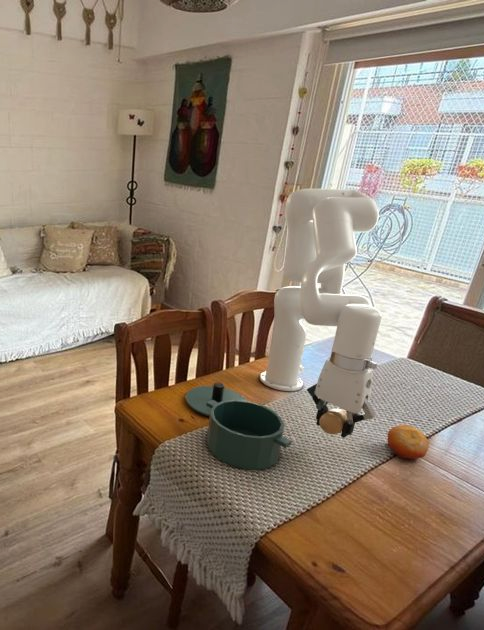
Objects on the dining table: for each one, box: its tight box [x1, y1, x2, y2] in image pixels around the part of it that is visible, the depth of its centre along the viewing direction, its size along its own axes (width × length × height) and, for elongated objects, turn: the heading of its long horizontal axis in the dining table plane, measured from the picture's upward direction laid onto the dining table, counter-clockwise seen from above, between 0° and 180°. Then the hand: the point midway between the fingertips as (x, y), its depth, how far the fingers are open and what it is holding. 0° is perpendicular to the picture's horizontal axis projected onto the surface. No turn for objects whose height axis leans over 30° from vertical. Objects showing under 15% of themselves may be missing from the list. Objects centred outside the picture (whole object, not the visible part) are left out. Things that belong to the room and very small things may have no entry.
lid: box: [185, 382, 248, 417], centre depth 126 cm, size 18×18×6 cm
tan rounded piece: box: [319, 407, 347, 436], centre depth 102 cm, size 8×5×5 cm, turn 126°
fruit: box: [386, 424, 430, 460], centre depth 105 cm, size 8×8×8 cm
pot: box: [206, 400, 293, 471], centre depth 106 cm, size 17×22×8 cm
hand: (332, 428), depth 103 cm, fingers closed on tan rounded piece, 5 cm apart
